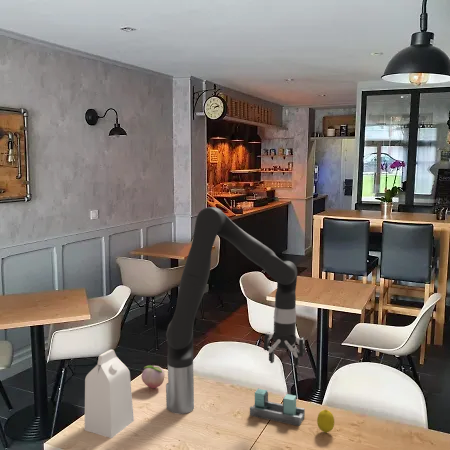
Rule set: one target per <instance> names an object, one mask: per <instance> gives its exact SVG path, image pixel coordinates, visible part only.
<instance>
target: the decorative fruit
mask: <svg viewBox="0 0 450 450" xmlns="http://www.w3.org/2000/svg"><path fill="white" fill-rule="evenodd" d="M142 368H143V369H144V370H142V372H141V380H142V382H143V384H145V385H146V386H147V387H148V388H151V389H156V388H159V387H160V386H162V384H163V383H164V381H165V377H166V376H165V375H166V374H165V370H164V369H163V368H162V367H160V366H159V365H146V366H144V367H142Z"/></svg>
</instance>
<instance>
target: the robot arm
mask: <svg viewBox="0 0 450 450" xmlns="http://www.w3.org/2000/svg"><path fill="white" fill-rule="evenodd" d="M217 236H219V237H221V238H222V239H225V240H226V241H228V242H229V243H230V244H232V245H233V246H234V247H235V248H236V249H237V250H238V251H240V253H241V254H242V255H244V256H245V257H246V258H247V259H248V260H250V261H251V262H253V263H254V264H255V265H257V266H258V267H260V268H261V269H262V270H264V272H266V273H267V274H268V276H269V277H271V278H272V279H273V280H275V281H276V283H277V284H276V285H277V287H276V291H275V296H274V310H273V311H274V312H273V333H270V331H267V332H266V333H265V334H264V339H263V351H267V352H268V361H269V362H270V364H273V363H275V349H276V348H277V347H278V348H279V349H284V350H289V351H290V353H292V355H293V356H294V357H293V368H296V369H297V367H298V366H299V365H300V357H304V355H305V354H306V341H305V337H301V338H299V337H297V335H296V329H297V328H296V327H297V325H296V323H297V310H296V300H297V296H296V295H297V294H296V289H297V283H298V282H297V281H298V268H297V266H296V264H295V263H294V262H292V261H290V260H282V259H281V258H279V257H278V256H277V255H276V252H274V251H273V250H272V249H271V248H269V246H267V245H265V244H263V242H261V241H259V240H258V239H256V238H255V237H253V236H252V235H250V234H249V233H247V232H246V231H244V230H243V229H242V228H241V227H239V226H238V225H237V224H236V223H235V222H233V220H231V219H230V217H228V215H226V214H225V212H223V210H222V209H220V208H218V207H215V206H210V207H204V208H203V209H201V210H199V212H198V214H197V216H196V220H195V224H194V231H193V237H192V242H191V246H190V249H189V252H188V254H187V258H186V261H185V265H184V267H183V270H182V275H181V278H180V282H179V288H178V292H177V300H176V306H175V311H174V314H173V316H172V318H171V321H170V322H169V324H168V325H167V328H166V329H167V330H166V333H165V337H166V340H167V383H166V384H165V396H166V397H165V400H166V401H165V402H166V404H165V405H166V410H168V411H170V412H171V413H173V414H175V415H176V414H177V415H185V414H188V413H191V412H192V411H193V410H194V409H195V389H194V388H195V387H194V386H195V383H194V325H195V321H196V320H195V319H196V316H197V312H198V309H199V307H200V305H201V302H202V299H203V296H204V293H205V291H206V287H207V285H208V280H209V277H210V272H211V265H212V264H211V263H212V252H213V251H212V250H213V246H214V245H215V244H214V243H215V241H216V239H217V238H216V237H217ZM271 339H272V340H273V342H274V343H273V345H272V346H270V340H271ZM295 343H297V345H298V347H299V349H298V347H297V346H296V344H295Z"/></svg>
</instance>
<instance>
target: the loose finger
mask: <svg viewBox="0 0 450 450" xmlns="http://www.w3.org/2000/svg"><path fill="white" fill-rule="evenodd" d="M282 404H283V410H284V413H286V414H291V415H296V407H297V395H293V394H289V393H286V394H285V395H284V397H283V399H282Z"/></svg>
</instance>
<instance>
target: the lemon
mask: <svg viewBox="0 0 450 450" xmlns="http://www.w3.org/2000/svg"><path fill="white" fill-rule="evenodd" d="M316 423H317V426H318V429H319V431H320V430H321V432H324V434H327V433H329V432H331V431H332V430H333V429H334V427H335V417H334V415H333V413H332V412H331V411H330V410H328V409H323V410H320V411H319V413H318V415H317V420H316Z"/></svg>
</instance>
